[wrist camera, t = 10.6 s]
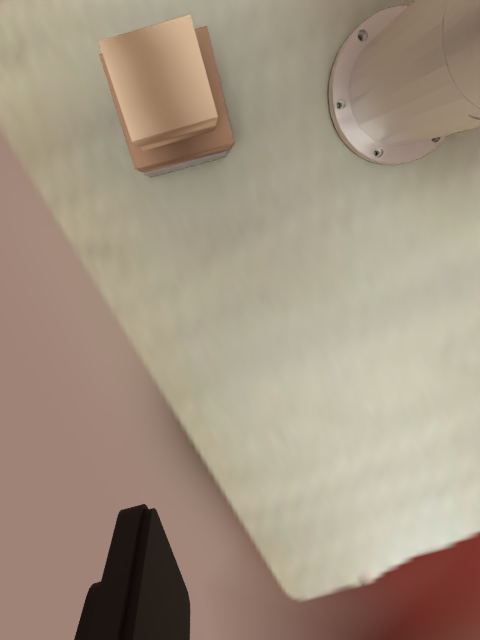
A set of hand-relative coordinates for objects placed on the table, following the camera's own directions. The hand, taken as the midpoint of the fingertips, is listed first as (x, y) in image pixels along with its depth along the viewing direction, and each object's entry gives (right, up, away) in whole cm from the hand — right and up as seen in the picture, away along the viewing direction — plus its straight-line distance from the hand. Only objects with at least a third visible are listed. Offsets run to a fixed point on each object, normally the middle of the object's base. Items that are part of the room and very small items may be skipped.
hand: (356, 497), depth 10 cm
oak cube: (-8, +19, +17) cm, 26 cm away
